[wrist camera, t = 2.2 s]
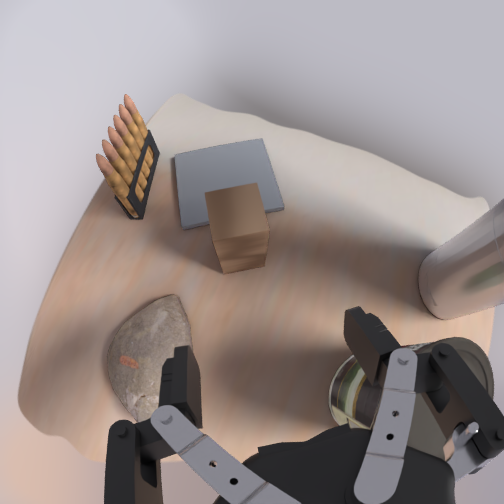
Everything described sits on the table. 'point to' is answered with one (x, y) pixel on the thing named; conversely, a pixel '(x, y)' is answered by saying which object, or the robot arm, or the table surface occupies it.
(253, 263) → the walnut block
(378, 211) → the table surface
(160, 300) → the rock
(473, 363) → the coffee can
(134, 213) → the ammunition clip
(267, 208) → the slate mat
